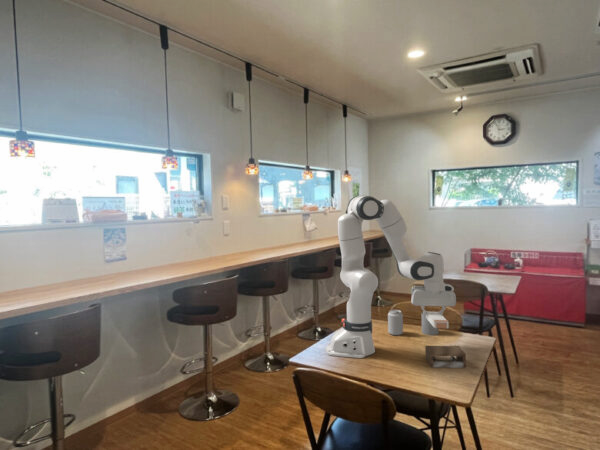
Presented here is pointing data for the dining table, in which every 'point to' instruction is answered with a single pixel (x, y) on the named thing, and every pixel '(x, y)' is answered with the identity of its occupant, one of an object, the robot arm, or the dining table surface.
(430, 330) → the cup
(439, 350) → the cabinet
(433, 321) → the white and orange box
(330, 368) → the dining table surface
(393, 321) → the can
